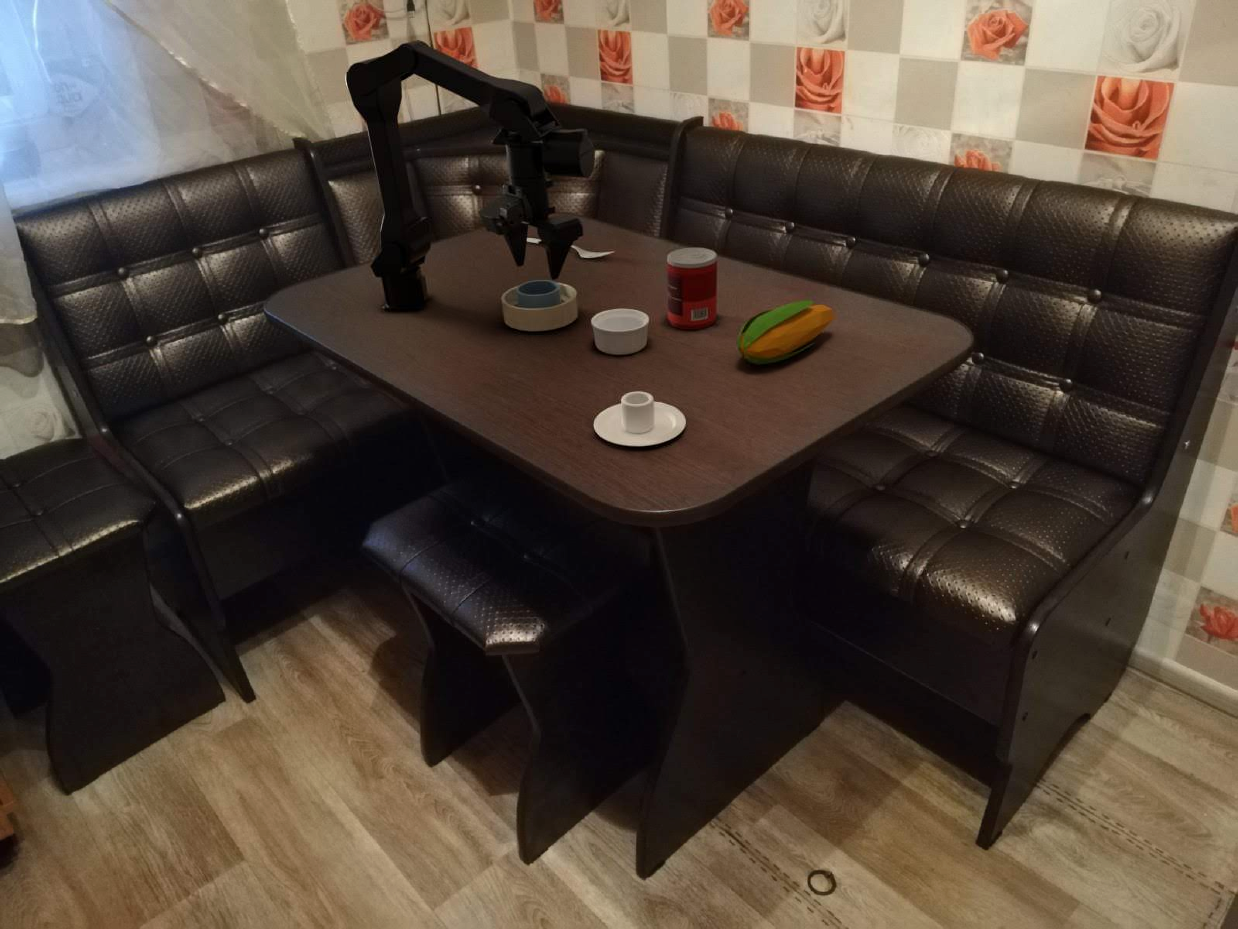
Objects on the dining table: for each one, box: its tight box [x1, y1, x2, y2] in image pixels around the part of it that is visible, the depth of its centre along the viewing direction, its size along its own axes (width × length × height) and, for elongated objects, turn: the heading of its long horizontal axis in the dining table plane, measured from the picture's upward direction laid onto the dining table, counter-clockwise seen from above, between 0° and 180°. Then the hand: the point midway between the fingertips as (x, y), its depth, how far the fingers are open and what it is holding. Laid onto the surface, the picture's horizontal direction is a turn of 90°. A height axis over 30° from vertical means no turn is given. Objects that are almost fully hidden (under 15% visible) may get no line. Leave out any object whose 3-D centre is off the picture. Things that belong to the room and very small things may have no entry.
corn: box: [736, 300, 835, 366], centre depth 136 cm, size 7×8×20 cm
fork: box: [527, 237, 616, 259], centre depth 182 cm, size 3×24×2 cm, turn 48°
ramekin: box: [590, 308, 650, 356], centre depth 142 cm, size 9×9×4 cm
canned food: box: [666, 247, 718, 331], centre depth 147 cm, size 8×8×11 cm
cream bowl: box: [500, 281, 579, 332], centre depth 152 cm, size 12×12×4 cm
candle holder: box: [593, 391, 687, 447], centre depth 119 cm, size 12×12×4 cm
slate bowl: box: [516, 279, 562, 309], centre depth 152 cm, size 7×7×5 cm
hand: (537, 272), depth 149 cm, fingers open, 9 cm apart
